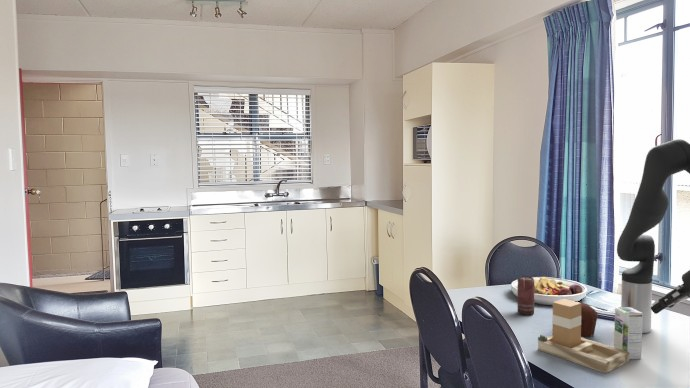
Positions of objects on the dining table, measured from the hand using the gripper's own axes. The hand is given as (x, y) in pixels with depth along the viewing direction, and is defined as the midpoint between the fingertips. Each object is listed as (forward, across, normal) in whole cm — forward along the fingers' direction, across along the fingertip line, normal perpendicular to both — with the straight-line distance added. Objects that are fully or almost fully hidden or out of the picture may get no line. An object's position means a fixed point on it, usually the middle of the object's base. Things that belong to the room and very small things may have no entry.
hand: (660, 307), depth 151 cm
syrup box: (+19, 0, +6) cm, 20 cm away
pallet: (+25, +10, 0) cm, 27 cm away
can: (+50, -10, -25) cm, 57 cm away
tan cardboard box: (+28, +10, -4) cm, 30 cm away
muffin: (+33, -7, -8) cm, 35 cm away
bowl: (+56, -36, -30) cm, 73 cm away
